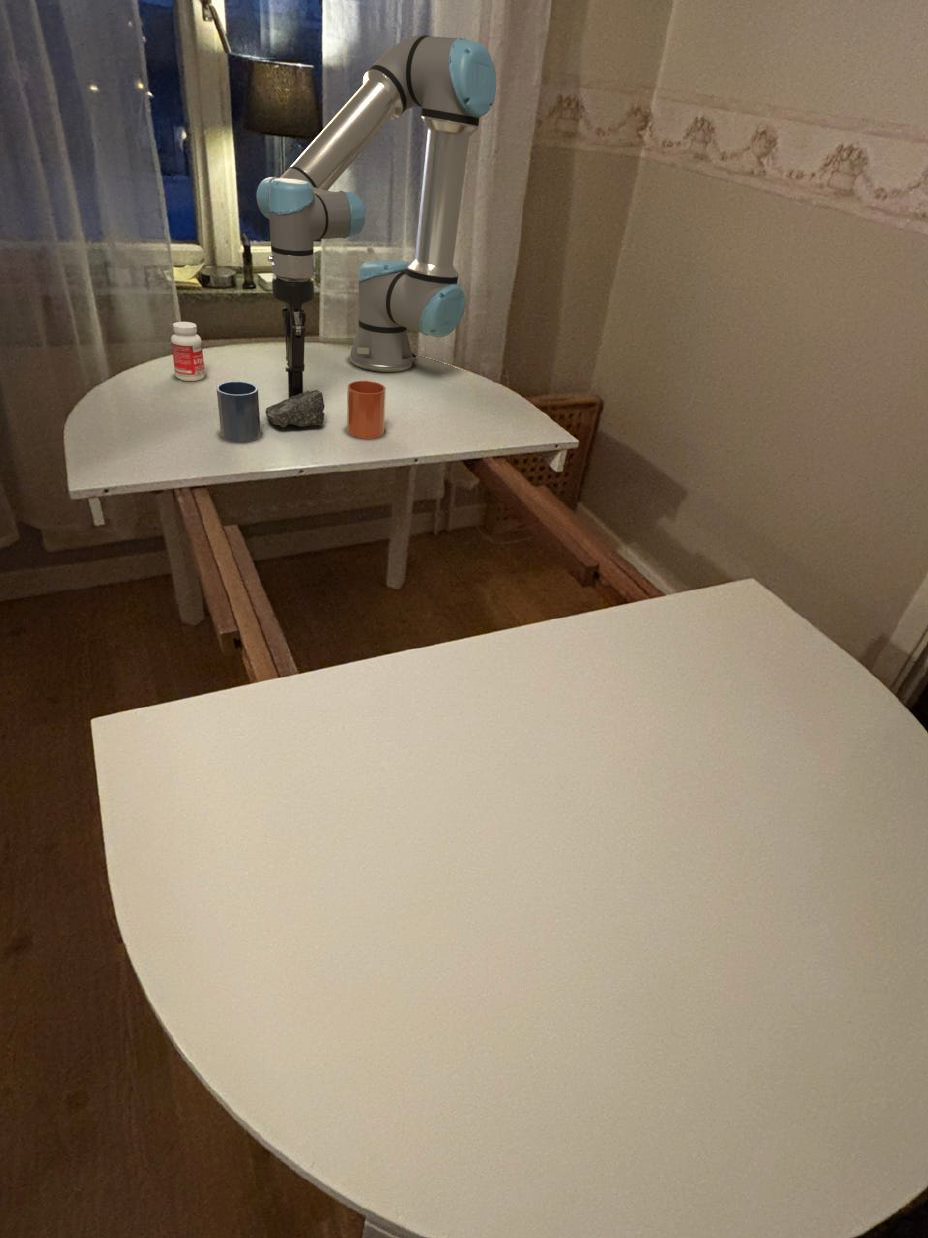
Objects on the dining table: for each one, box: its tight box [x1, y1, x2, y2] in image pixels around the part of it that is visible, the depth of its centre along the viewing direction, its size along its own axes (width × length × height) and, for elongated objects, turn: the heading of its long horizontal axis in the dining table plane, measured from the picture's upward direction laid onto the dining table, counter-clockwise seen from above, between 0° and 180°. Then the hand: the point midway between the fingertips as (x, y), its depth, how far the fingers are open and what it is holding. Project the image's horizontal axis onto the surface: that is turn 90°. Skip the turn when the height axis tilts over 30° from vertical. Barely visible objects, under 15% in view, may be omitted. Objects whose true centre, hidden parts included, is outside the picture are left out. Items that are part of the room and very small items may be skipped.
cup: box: [216, 380, 262, 444], centre depth 137 cm, size 7×7×9 cm
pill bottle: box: [170, 321, 206, 382], centre depth 158 cm, size 6×6×11 cm
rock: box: [264, 389, 326, 428], centre depth 145 cm, size 9×11×6 cm
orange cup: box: [346, 380, 387, 440], centre depth 145 cm, size 7×7×9 cm
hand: (296, 401), depth 149 cm, fingers closed
